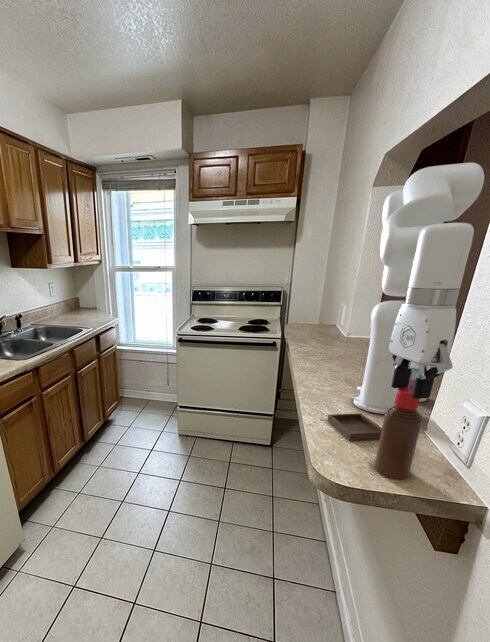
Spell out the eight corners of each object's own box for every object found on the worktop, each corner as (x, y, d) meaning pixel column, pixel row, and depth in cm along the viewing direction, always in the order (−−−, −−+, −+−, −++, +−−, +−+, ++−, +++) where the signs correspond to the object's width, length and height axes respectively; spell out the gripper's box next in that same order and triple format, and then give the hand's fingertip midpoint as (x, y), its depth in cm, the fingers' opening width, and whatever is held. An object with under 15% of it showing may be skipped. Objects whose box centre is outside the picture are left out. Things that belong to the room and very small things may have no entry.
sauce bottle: (367, 463, 79) (382, 388, 73) (395, 461, 79) (412, 386, 73) (386, 480, 73) (404, 399, 67) (416, 478, 73) (436, 398, 67)
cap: (390, 402, 73) (393, 387, 72) (408, 401, 73) (411, 387, 72) (403, 410, 69) (406, 394, 68) (422, 409, 69) (426, 393, 68)
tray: (327, 421, 99) (328, 414, 99) (359, 419, 100) (360, 413, 99) (349, 440, 89) (350, 433, 88) (385, 438, 89) (387, 431, 88)
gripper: (380, 294, 71) (365, 379, 77) (449, 304, 55) (423, 410, 61) (416, 293, 72) (398, 378, 78) (494, 303, 56) (464, 408, 62)
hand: (409, 391), depth 70 cm, fingers open, 5 cm apart
